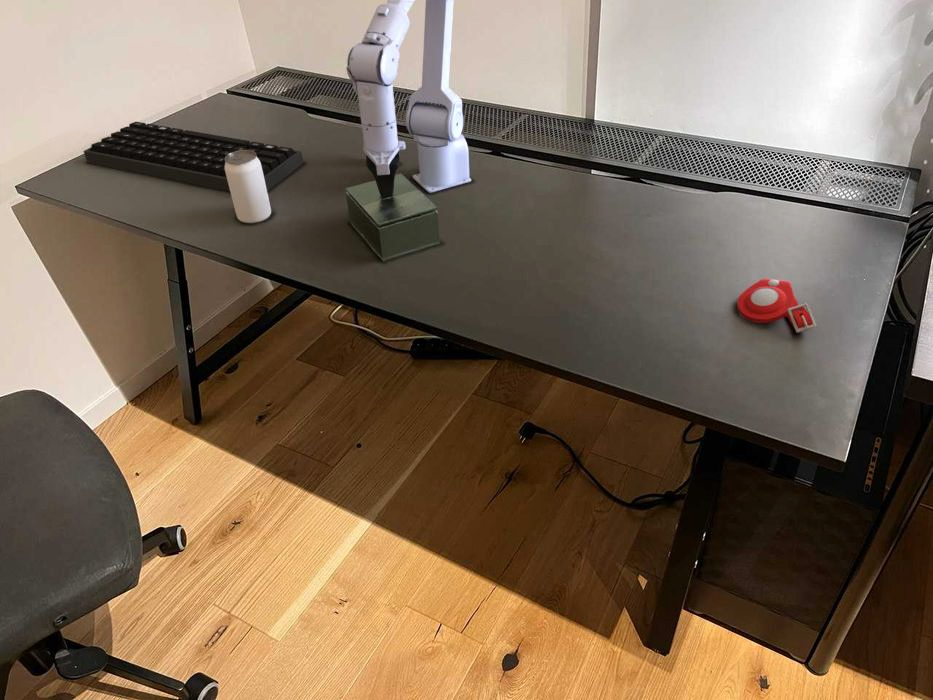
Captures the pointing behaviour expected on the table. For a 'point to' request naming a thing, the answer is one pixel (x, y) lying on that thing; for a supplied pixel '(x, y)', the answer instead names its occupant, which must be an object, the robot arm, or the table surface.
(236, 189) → the can
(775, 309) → the tracker holder
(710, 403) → the table surface
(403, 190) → the green flat panel
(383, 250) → the green lidded box
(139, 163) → the computer keyboard
